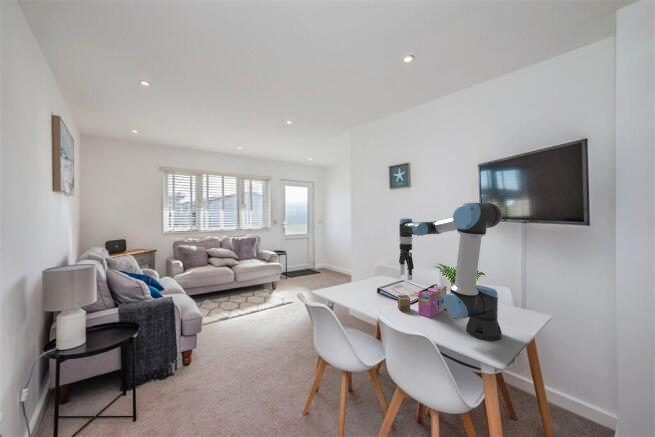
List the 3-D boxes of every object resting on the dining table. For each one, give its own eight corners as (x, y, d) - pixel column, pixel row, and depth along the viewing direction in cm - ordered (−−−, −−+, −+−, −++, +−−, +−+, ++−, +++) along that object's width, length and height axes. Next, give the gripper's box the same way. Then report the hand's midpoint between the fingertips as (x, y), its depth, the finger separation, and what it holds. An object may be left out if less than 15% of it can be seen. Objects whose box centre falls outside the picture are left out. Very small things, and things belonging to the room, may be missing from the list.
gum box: (435, 304, 174) (435, 283, 173) (448, 307, 168) (448, 285, 168) (418, 314, 157) (417, 291, 157) (431, 318, 151) (431, 294, 151)
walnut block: (410, 311, 162) (410, 298, 162) (400, 311, 162) (400, 298, 162) (407, 307, 168) (407, 295, 168) (397, 307, 168) (397, 295, 168)
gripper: (419, 245, 154) (419, 282, 154) (405, 240, 178) (405, 272, 179) (406, 246, 153) (406, 282, 154) (394, 241, 178) (394, 272, 179)
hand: (405, 277), depth 167 cm, fingers open, 13 cm apart
